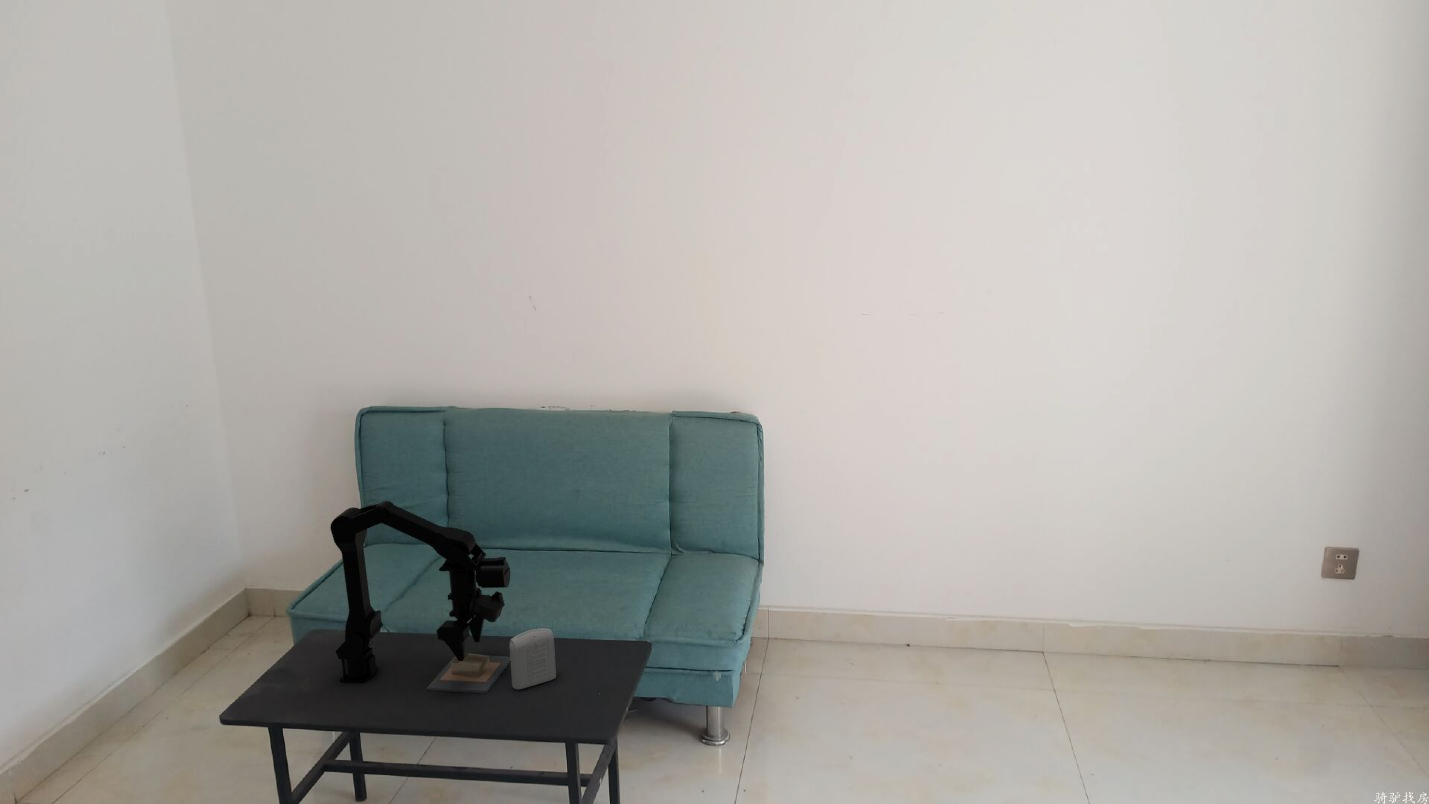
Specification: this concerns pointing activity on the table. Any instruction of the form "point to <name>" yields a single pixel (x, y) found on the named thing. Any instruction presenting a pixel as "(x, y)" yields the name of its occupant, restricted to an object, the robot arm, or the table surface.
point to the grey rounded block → (532, 658)
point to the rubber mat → (470, 678)
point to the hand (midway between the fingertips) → (469, 651)
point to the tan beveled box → (470, 665)
